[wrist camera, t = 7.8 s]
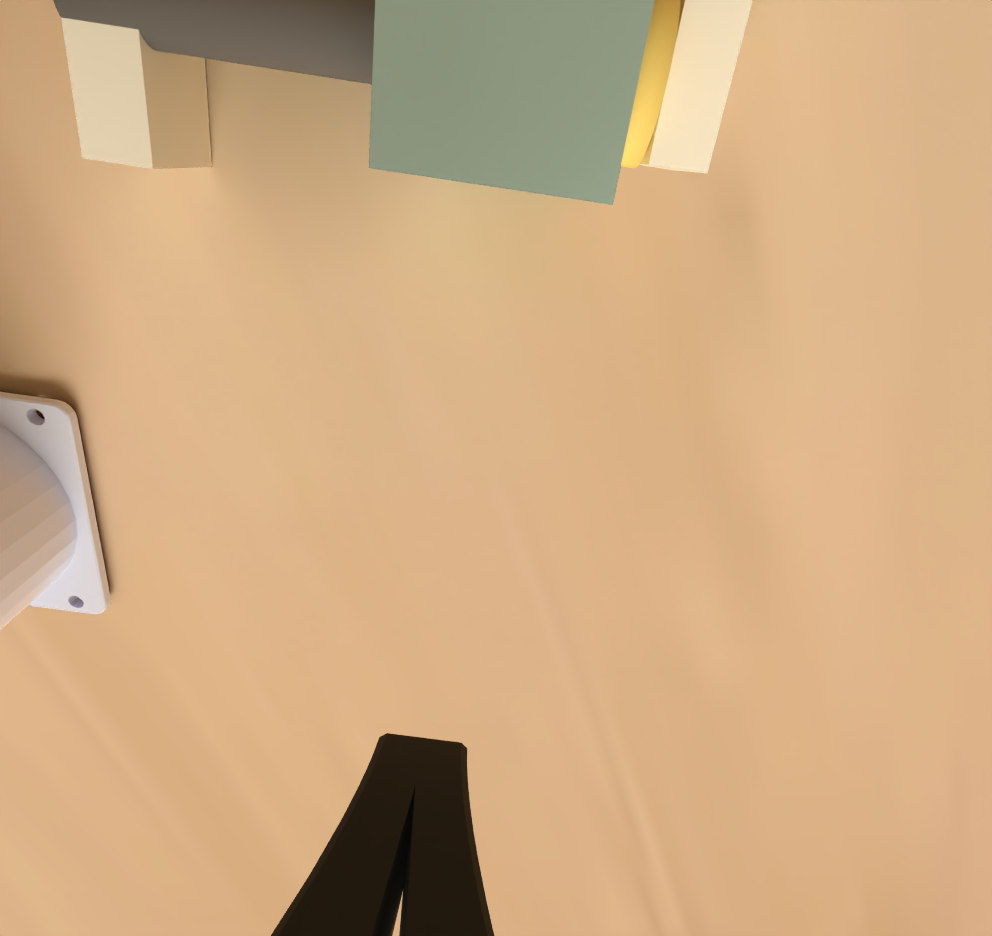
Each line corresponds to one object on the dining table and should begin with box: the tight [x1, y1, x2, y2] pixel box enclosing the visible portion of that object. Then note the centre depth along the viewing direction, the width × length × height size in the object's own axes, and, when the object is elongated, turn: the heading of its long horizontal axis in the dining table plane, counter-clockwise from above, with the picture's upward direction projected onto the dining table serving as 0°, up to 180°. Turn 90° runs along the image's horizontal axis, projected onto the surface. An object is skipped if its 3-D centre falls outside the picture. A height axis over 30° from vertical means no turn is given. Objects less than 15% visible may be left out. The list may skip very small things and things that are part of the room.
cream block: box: [639, 0, 753, 173], centre depth 13 cm, size 1×3×3 cm, turn 172°
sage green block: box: [369, 0, 655, 205], centre depth 12 cm, size 4×4×6 cm
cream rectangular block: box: [61, 18, 212, 169], centre depth 13 cm, size 2×6×3 cm, turn 173°
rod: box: [54, 0, 680, 168], centre depth 13 cm, size 13×3×3 cm, turn 82°
